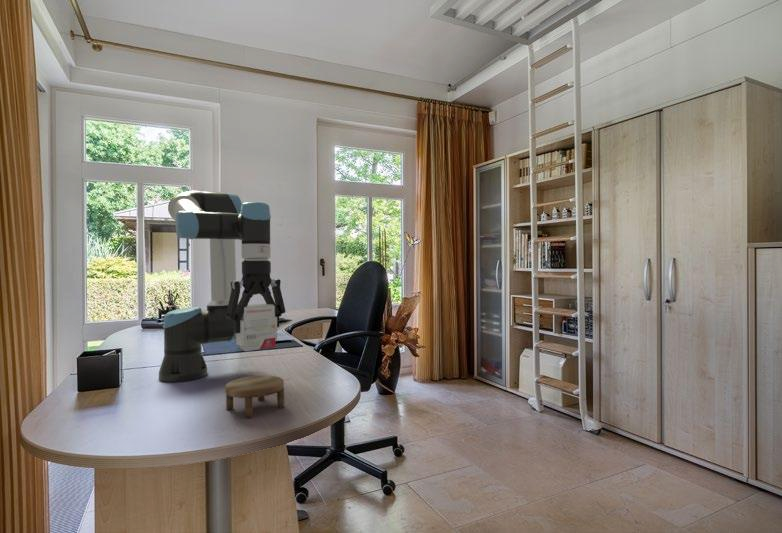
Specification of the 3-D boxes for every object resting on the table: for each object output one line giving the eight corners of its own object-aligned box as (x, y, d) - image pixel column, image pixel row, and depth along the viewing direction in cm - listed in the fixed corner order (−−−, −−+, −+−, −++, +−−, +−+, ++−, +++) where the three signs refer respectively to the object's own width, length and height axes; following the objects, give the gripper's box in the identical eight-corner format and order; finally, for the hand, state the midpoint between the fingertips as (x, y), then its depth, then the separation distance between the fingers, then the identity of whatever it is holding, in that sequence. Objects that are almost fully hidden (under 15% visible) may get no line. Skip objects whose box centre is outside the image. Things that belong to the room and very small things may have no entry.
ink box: (270, 344, 122) (270, 303, 121) (276, 347, 117) (275, 304, 117) (238, 348, 117) (238, 305, 117) (243, 351, 113) (243, 306, 112)
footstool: (215, 409, 116) (215, 384, 116) (264, 395, 127) (264, 372, 127) (244, 423, 106) (244, 395, 106) (295, 407, 117) (294, 382, 117)
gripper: (224, 260, 106) (225, 350, 106) (298, 259, 122) (299, 338, 123) (210, 260, 111) (211, 346, 111) (282, 259, 127) (283, 335, 128)
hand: (257, 342), depth 117 cm, fingers closed on ink box, 9 cm apart
